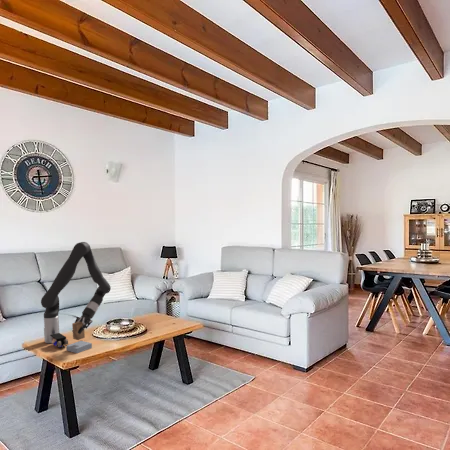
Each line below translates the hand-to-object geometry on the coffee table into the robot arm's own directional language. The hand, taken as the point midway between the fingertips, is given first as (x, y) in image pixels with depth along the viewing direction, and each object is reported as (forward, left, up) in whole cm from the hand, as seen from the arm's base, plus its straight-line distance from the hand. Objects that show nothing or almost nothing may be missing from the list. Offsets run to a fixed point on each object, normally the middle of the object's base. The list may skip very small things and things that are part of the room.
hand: (76, 332), depth 244 cm
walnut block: (0, +2, -4) cm, 5 cm away
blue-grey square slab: (0, +2, -11) cm, 11 cm away
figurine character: (-17, -1, -12) cm, 21 cm away
